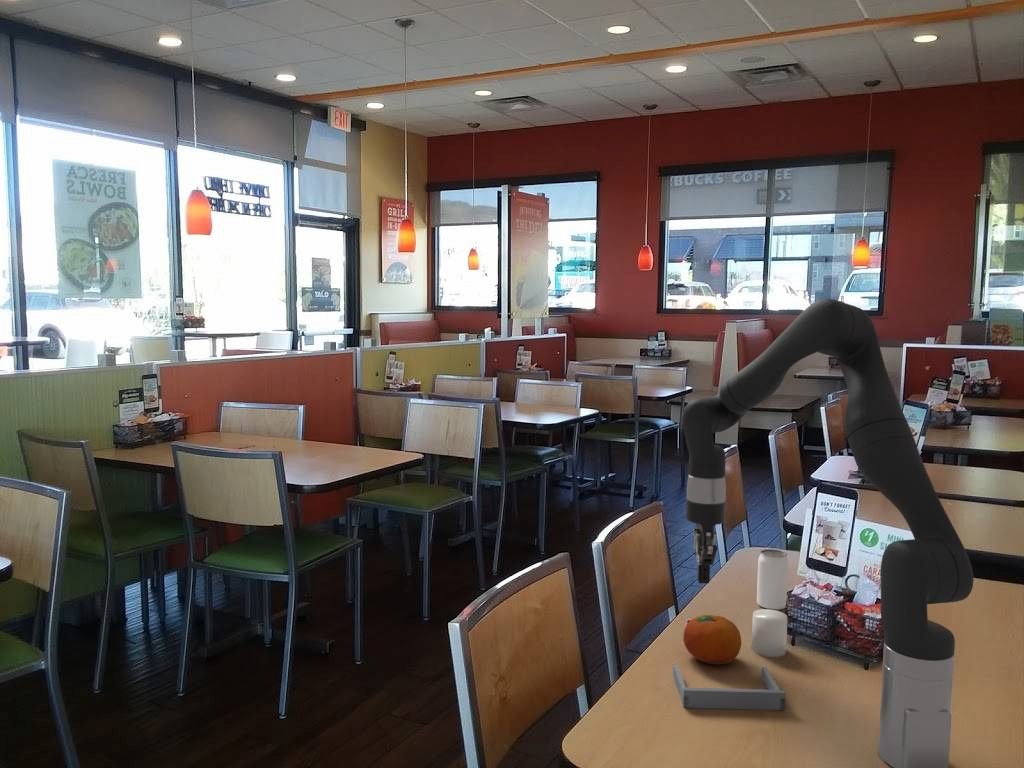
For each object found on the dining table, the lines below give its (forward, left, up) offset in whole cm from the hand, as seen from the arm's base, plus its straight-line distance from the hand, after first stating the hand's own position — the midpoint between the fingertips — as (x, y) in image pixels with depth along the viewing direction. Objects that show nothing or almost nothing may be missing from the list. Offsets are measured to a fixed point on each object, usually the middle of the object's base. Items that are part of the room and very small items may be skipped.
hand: (703, 582), depth 165 cm
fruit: (-11, 0, -12) cm, 16 cm away
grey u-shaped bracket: (-24, 0, -11) cm, 26 cm away
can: (+18, -19, -12) cm, 29 cm away
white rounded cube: (-6, -12, -11) cm, 17 cm away
